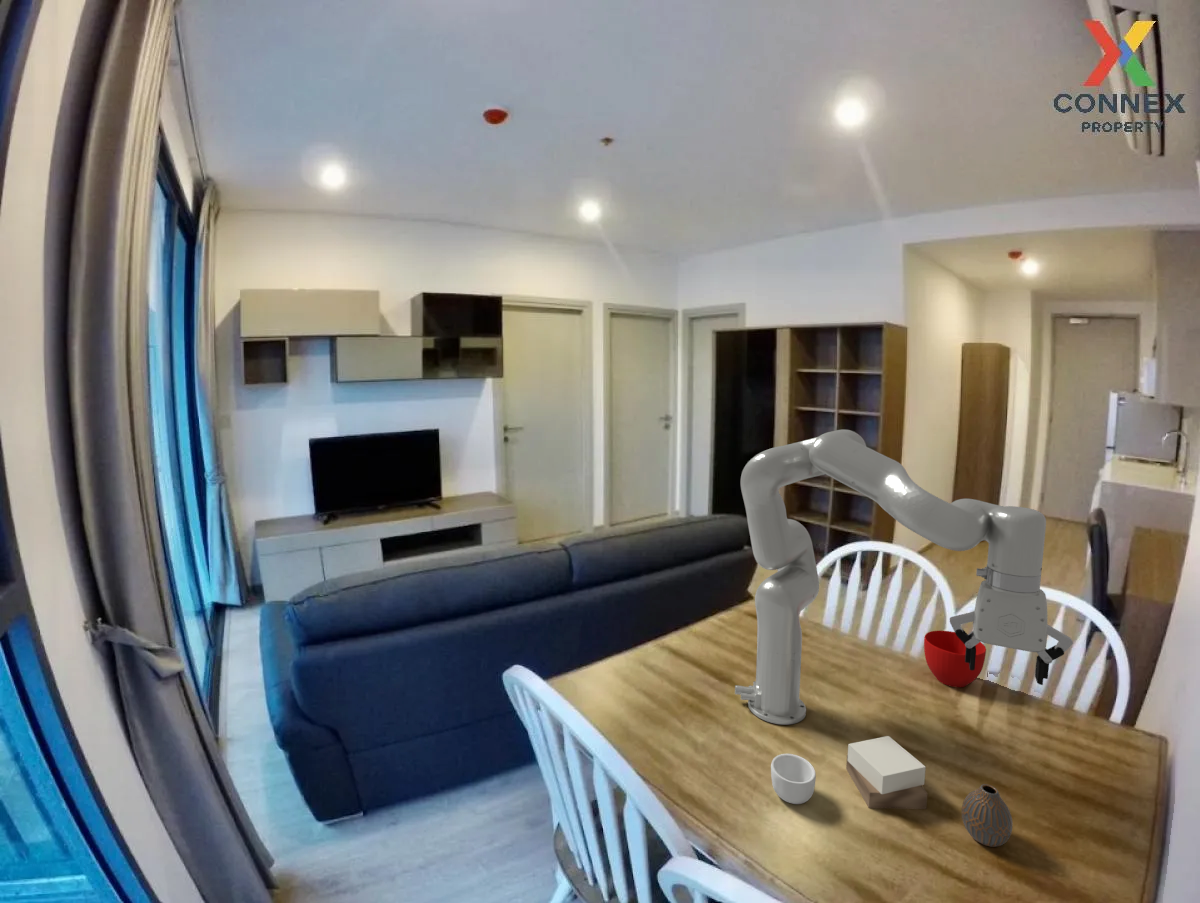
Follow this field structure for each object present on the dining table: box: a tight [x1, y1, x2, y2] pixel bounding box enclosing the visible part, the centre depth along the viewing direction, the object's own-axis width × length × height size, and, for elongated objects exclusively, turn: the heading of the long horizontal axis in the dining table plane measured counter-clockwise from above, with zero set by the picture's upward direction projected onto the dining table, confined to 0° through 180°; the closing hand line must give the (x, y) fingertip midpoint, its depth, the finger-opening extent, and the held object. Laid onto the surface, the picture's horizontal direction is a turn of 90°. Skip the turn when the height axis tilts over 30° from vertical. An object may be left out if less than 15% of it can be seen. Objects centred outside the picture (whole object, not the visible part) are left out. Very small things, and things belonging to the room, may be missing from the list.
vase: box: [961, 783, 1013, 848], centre depth 94 cm, size 7×7×9 cm
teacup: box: [770, 753, 817, 805], centre depth 105 cm, size 10×8×5 cm
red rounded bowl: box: [923, 630, 987, 688], centre depth 143 cm, size 13×17×10 cm
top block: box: [846, 735, 927, 794], centre depth 106 cm, size 9×9×4 cm
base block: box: [845, 754, 928, 810], centre depth 106 cm, size 10×10×4 cm
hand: (1004, 673), depth 100 cm, fingers open, 9 cm apart
